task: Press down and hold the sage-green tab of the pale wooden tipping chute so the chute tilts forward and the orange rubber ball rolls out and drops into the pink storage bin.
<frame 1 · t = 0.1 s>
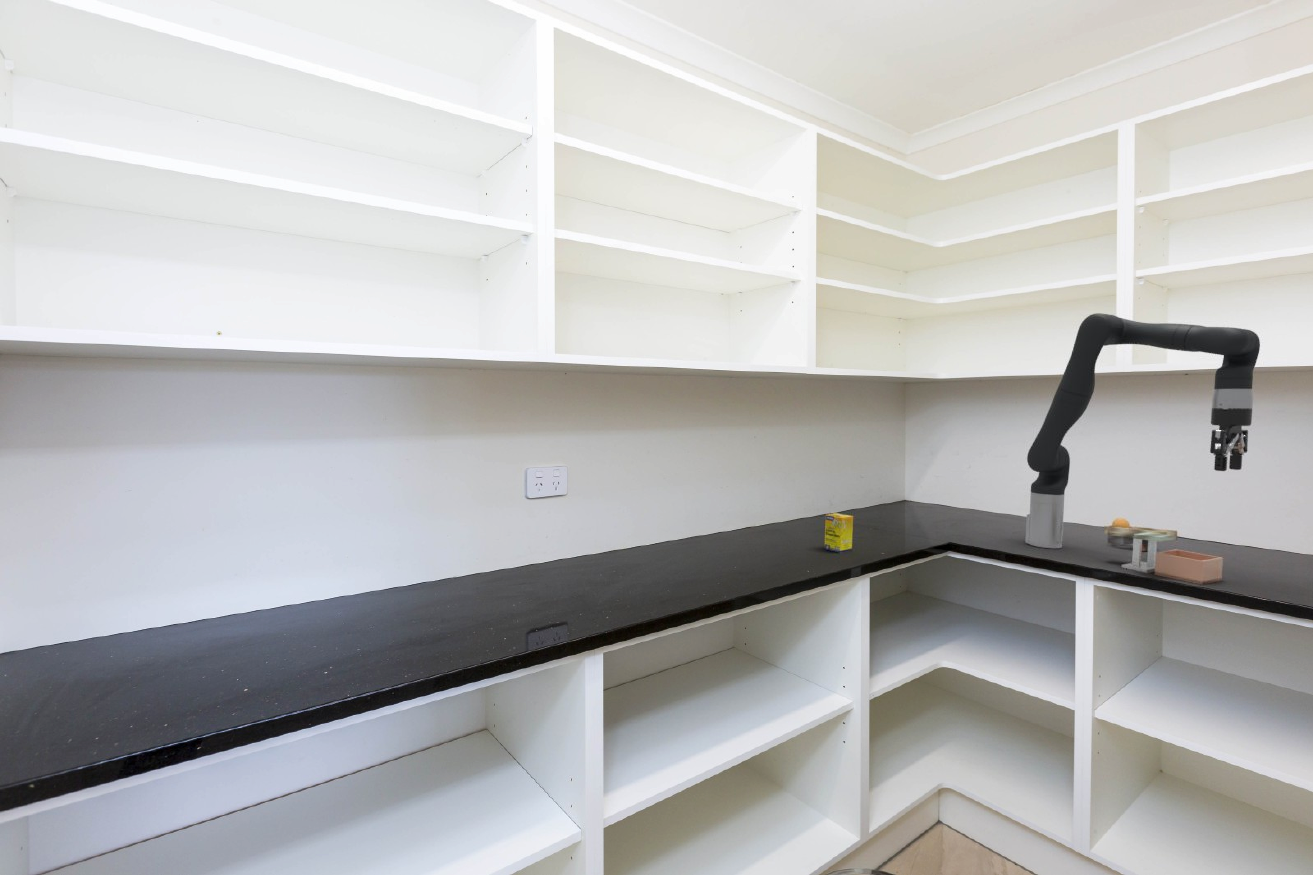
hand: (1227, 470, 154), 29 cm above the worktop, tool pointing down, fingers open, 8 cm apart
ball: (1120, 525, 173), point 11 cm above the worktop, tilted 8°, touching chute
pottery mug: (1134, 549, 194), on the worktop
supplement box: (838, 551, 185), on the worktop
chute: (1137, 538, 167), point 9 cm above the worktop, hinge at -4.0°, touching ball
pink storage bin: (1187, 577, 159), on the worktop
chute stand: (1143, 568, 168), on the worktop
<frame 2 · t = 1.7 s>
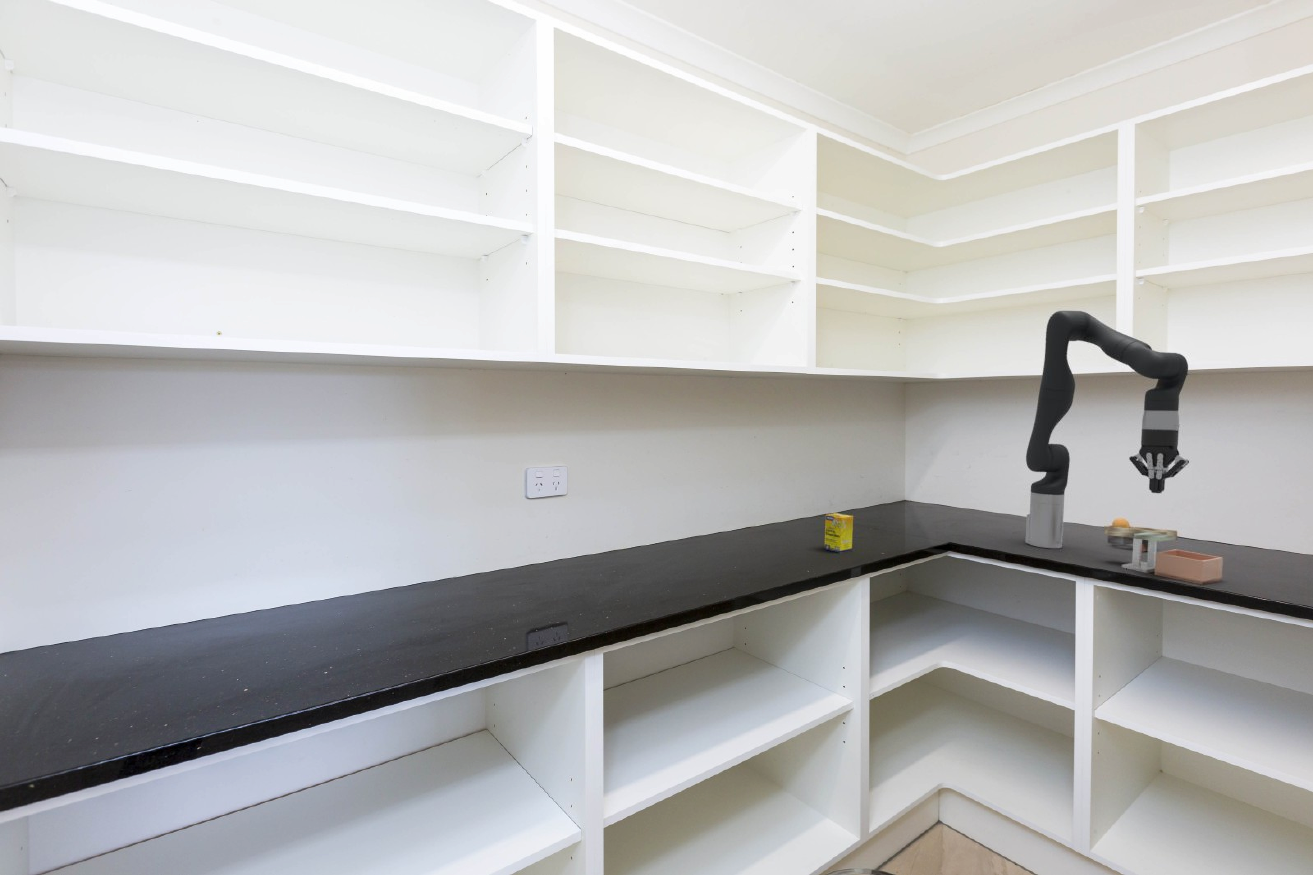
hand: (1156, 492, 160), 22 cm above the worktop, tool pointing down, fingers closed
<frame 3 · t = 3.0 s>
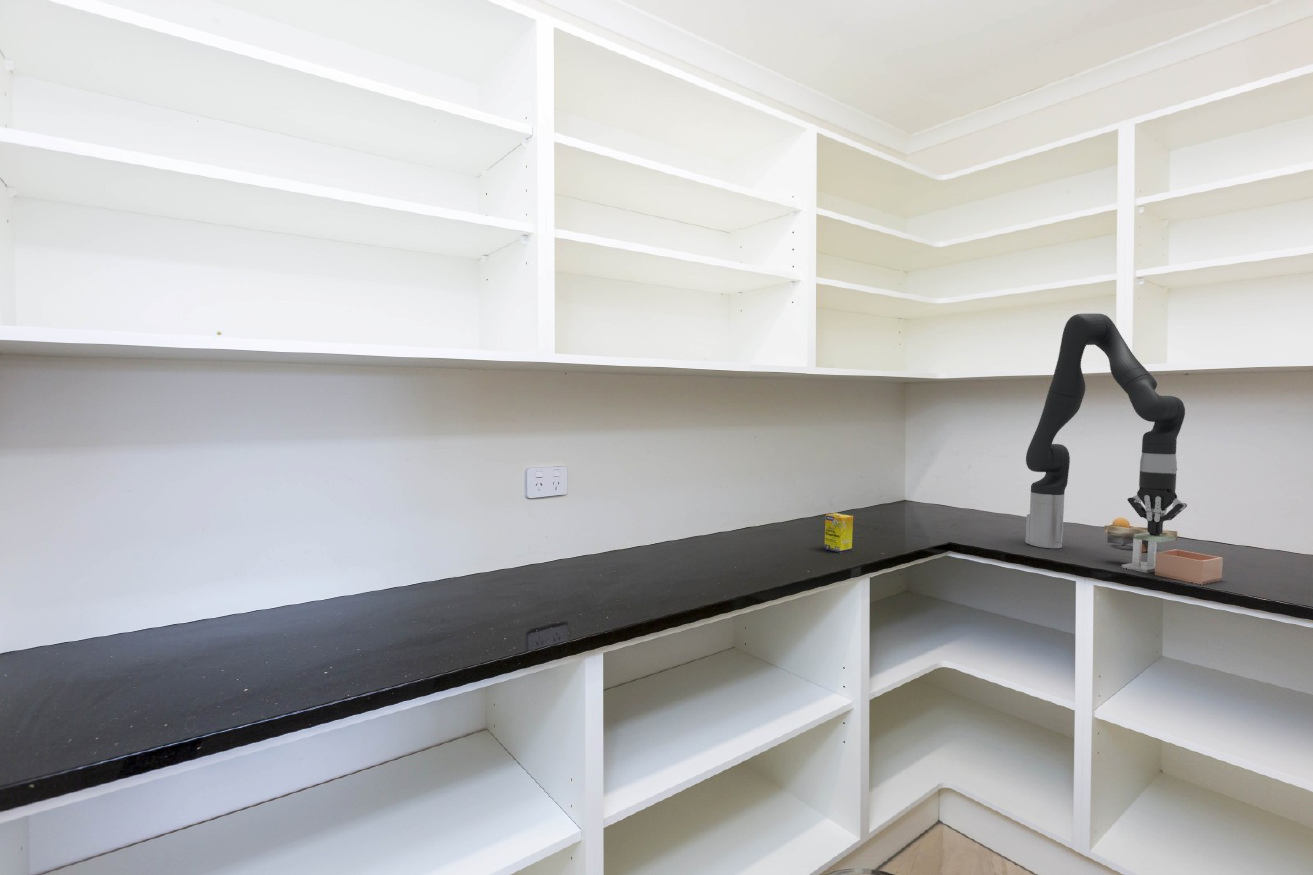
hand: (1154, 535, 160), 11 cm above the worktop, tool pointing down, fingers closed
chute: (1137, 538, 167), point 9 cm above the worktop, hinge at -2.5°, touching ball, gripper
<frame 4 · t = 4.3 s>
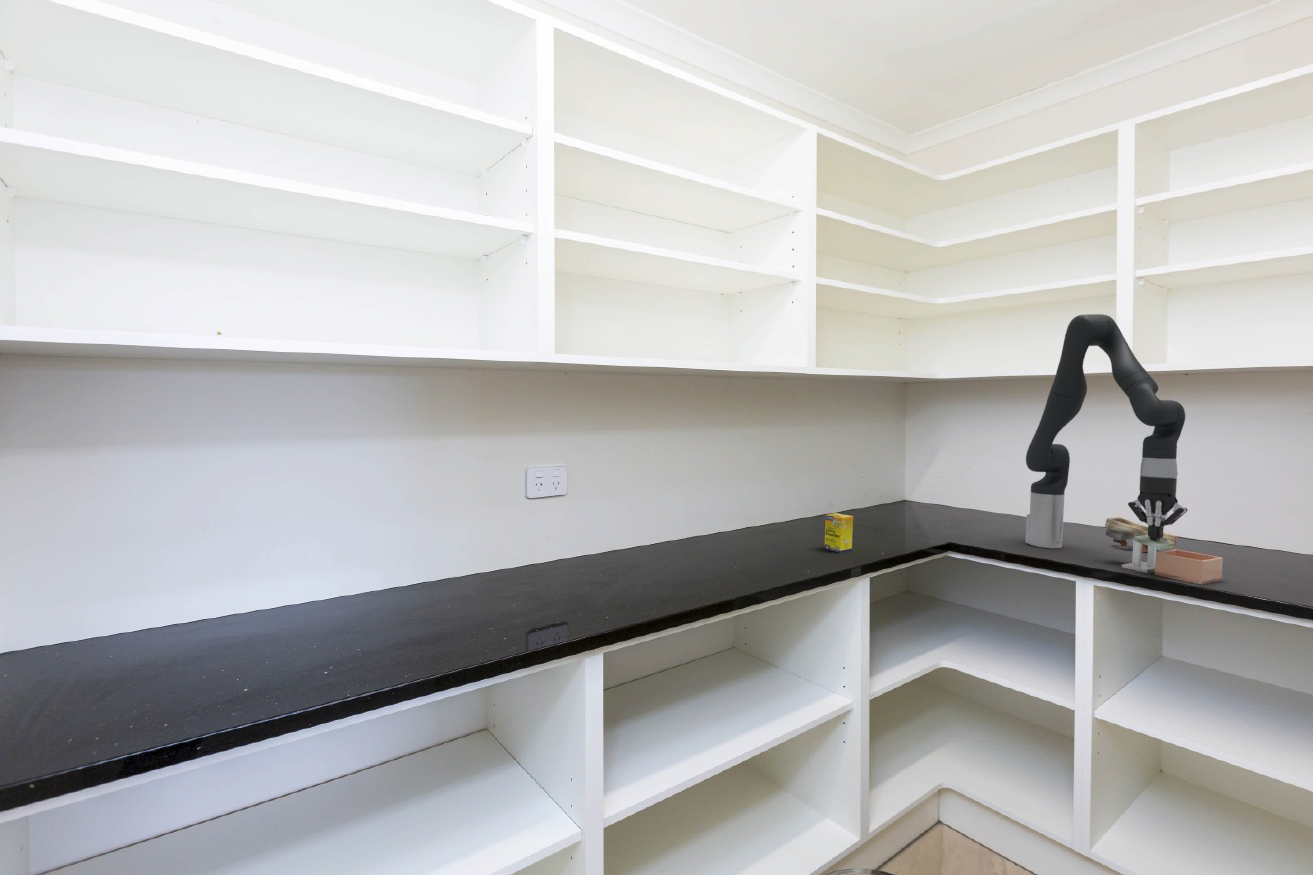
hand: (1155, 539, 160), 10 cm above the worktop, tool pointing down, fingers closed
ball: (1199, 569, 157), point 3 cm above the worktop, tilted 163°, touching pink storage bin
chute: (1136, 537, 167), point 9 cm above the worktop, hinge at 11.8°, touching gripper
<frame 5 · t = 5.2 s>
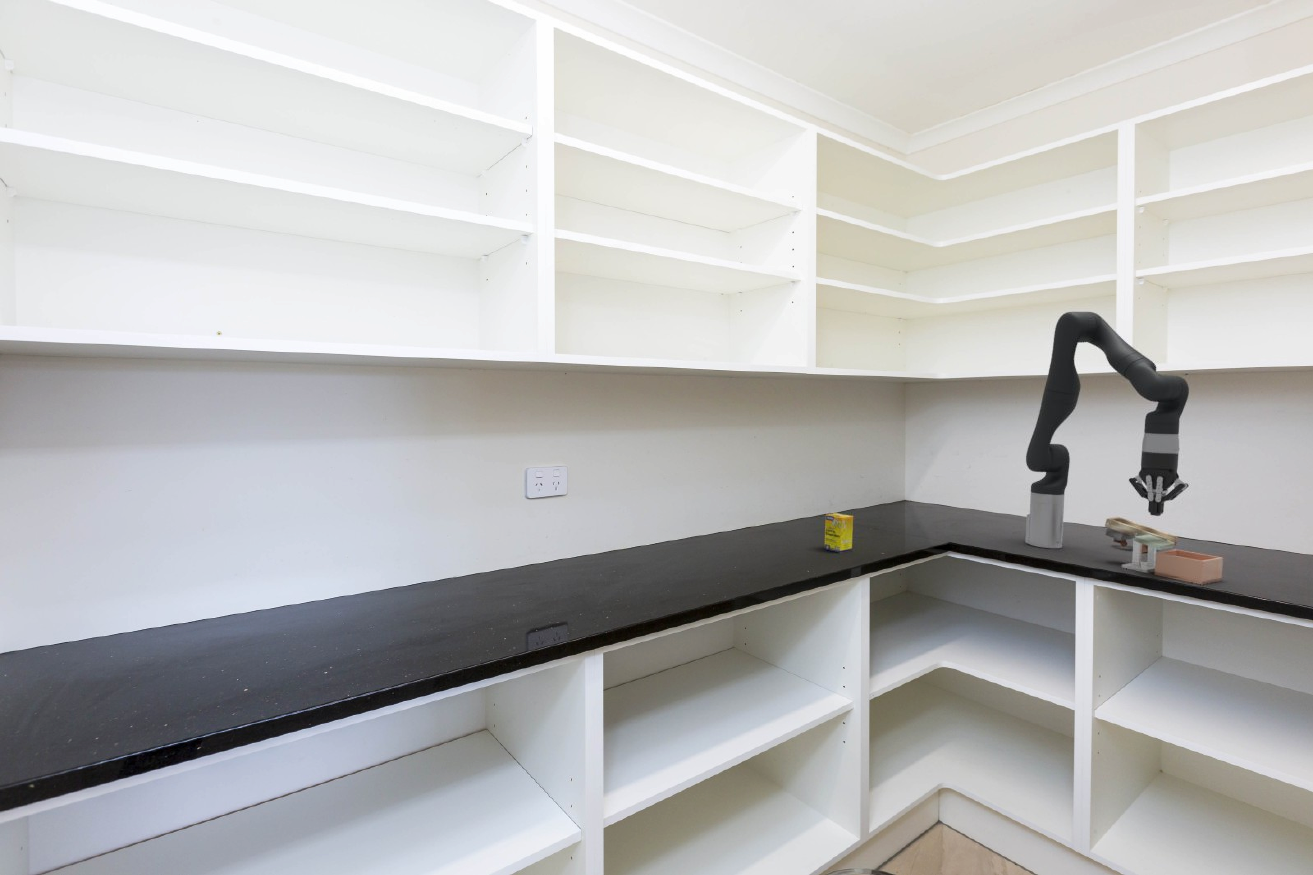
hand: (1155, 515, 160), 16 cm above the worktop, tool pointing down, fingers closed
ball: (1198, 569, 157), point 3 cm above the worktop, tilted 172°, touching pink storage bin
chute: (1136, 537, 167), point 9 cm above the worktop, hinge at 12.0°
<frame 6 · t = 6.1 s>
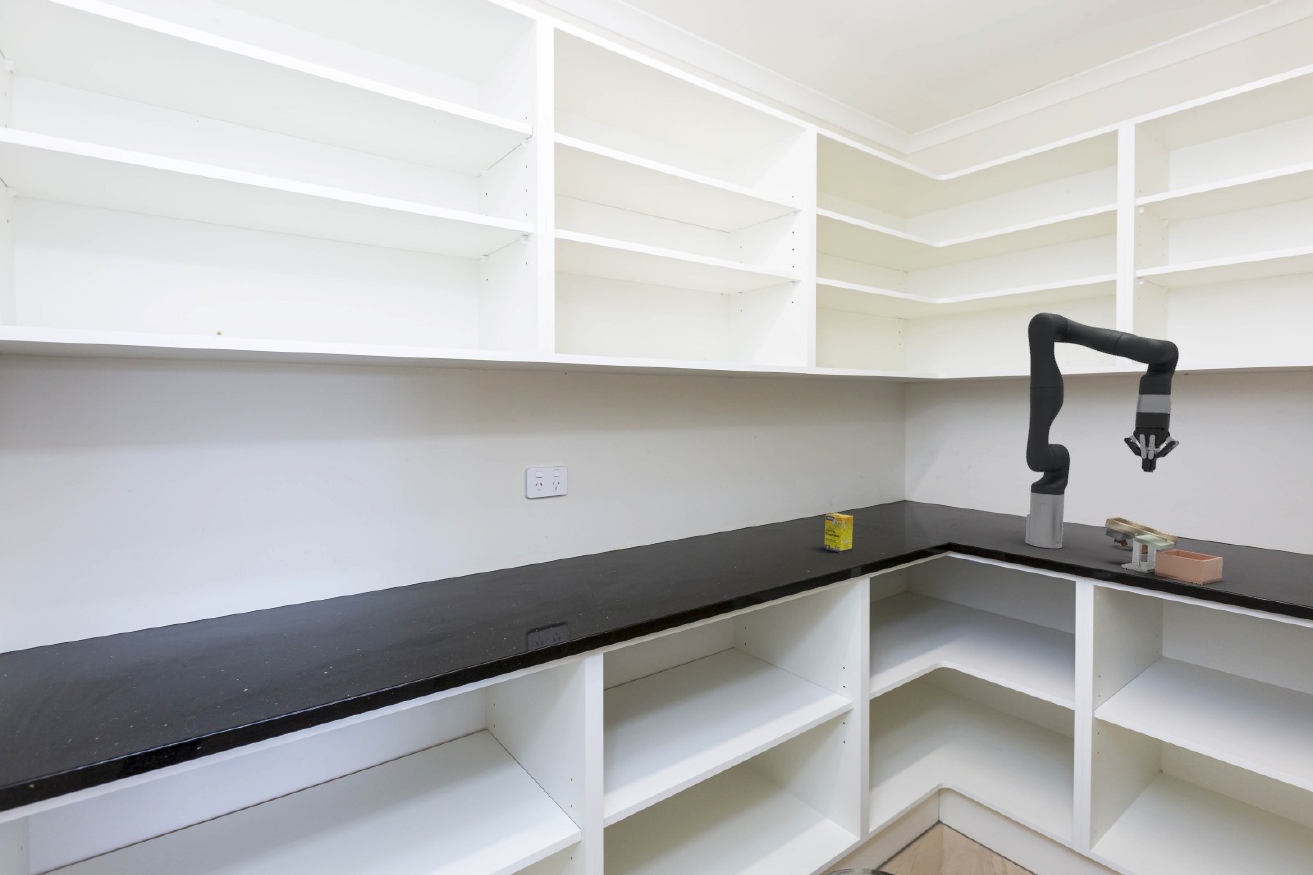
hand: (1148, 471, 171), 27 cm above the worktop, tool pointing down, fingers closed
ball: (1196, 568, 158), point 3 cm above the worktop, tilted 179°, touching pink storage bin
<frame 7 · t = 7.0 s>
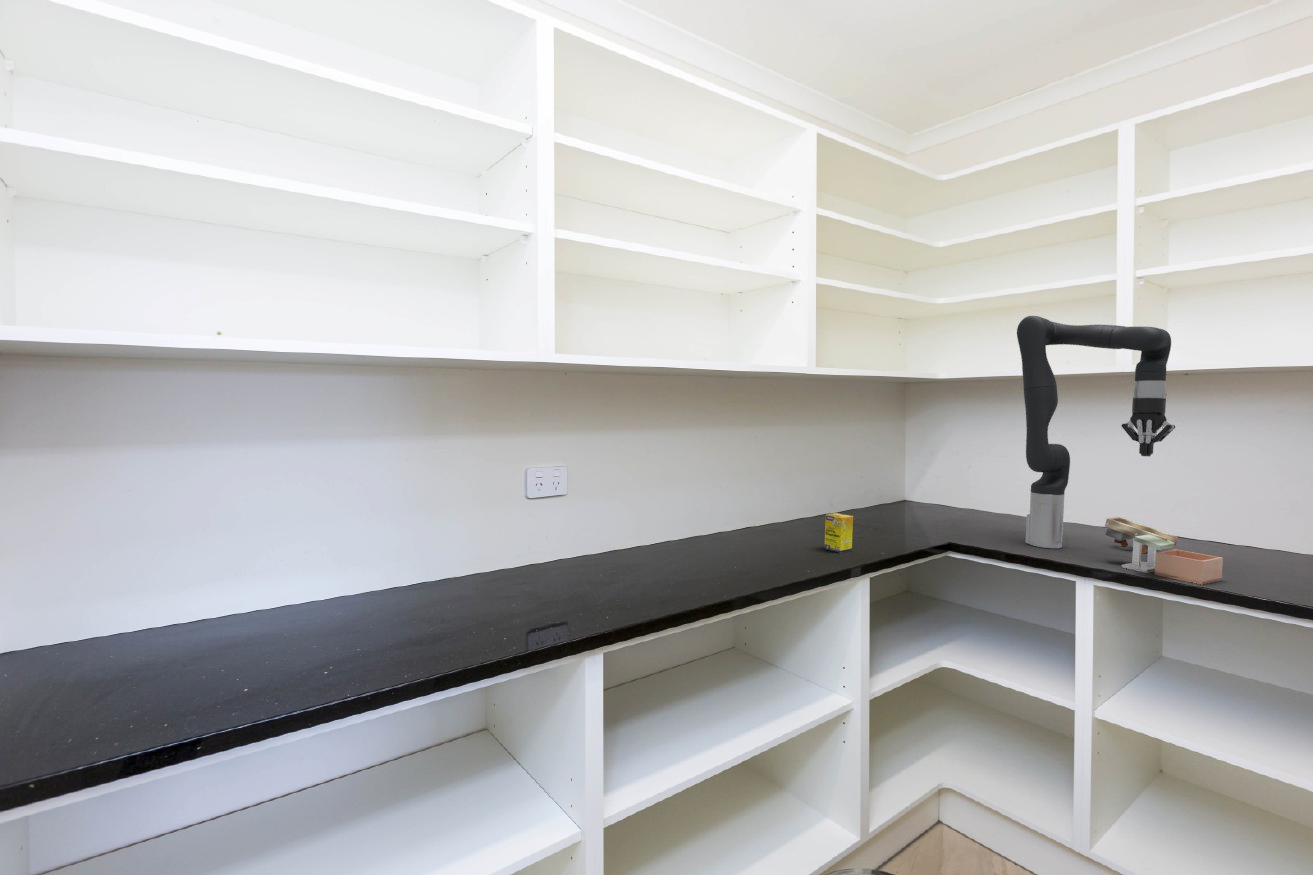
hand: (1146, 456, 175), 31 cm above the worktop, tool pointing down, fingers closed
ball: (1195, 568, 158), point 3 cm above the worktop, tilted 171°, touching pink storage bin
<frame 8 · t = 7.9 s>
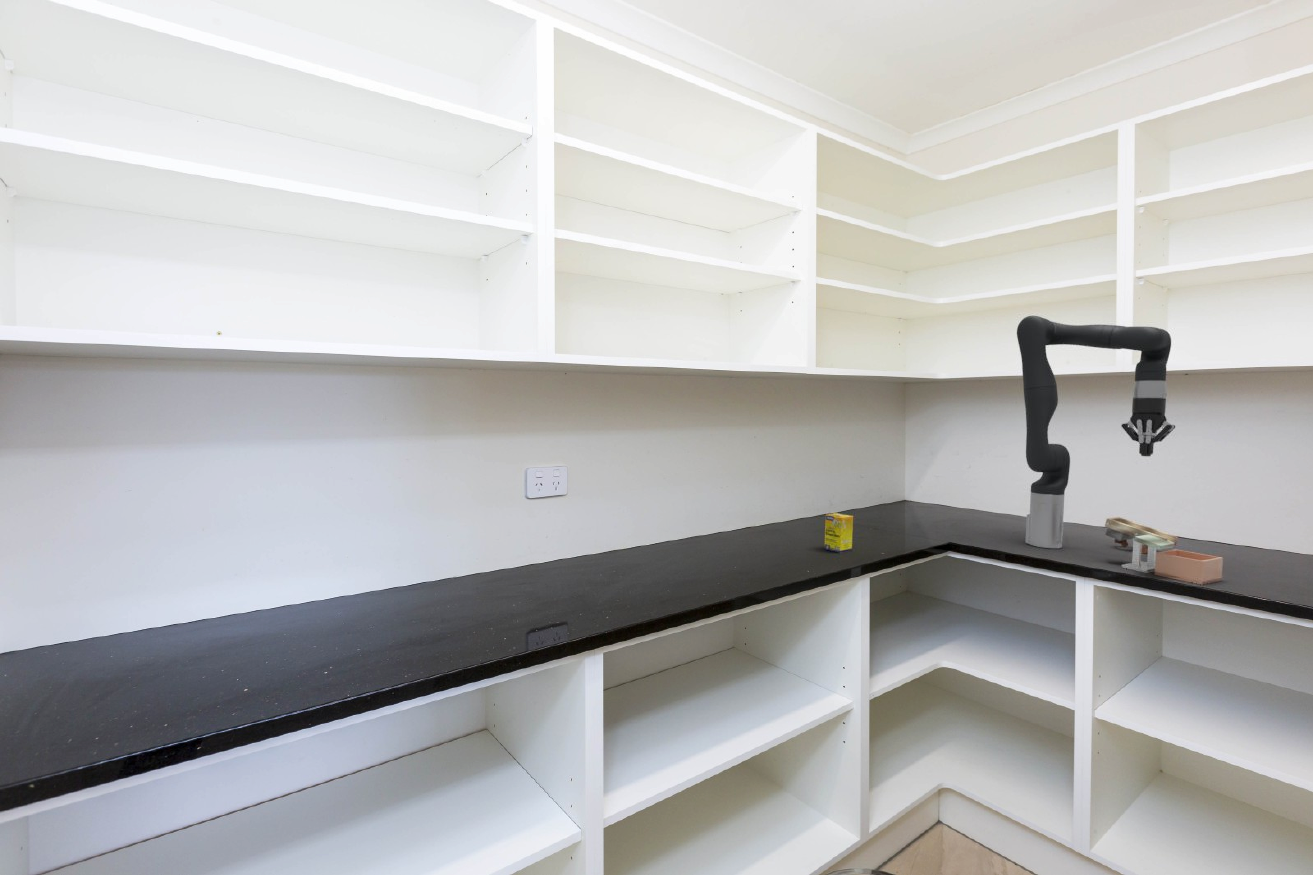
hand: (1146, 456, 175), 31 cm above the worktop, tool pointing down, fingers closed
ball: (1193, 568, 158), point 3 cm above the worktop, tilted 162°, touching pink storage bin
at the end: ball inside the target area on the pink storage bin (1.2 cm from its centre), point 2.8 cm above the pink storage bin's base; ball moved 19.1 cm from its start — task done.
